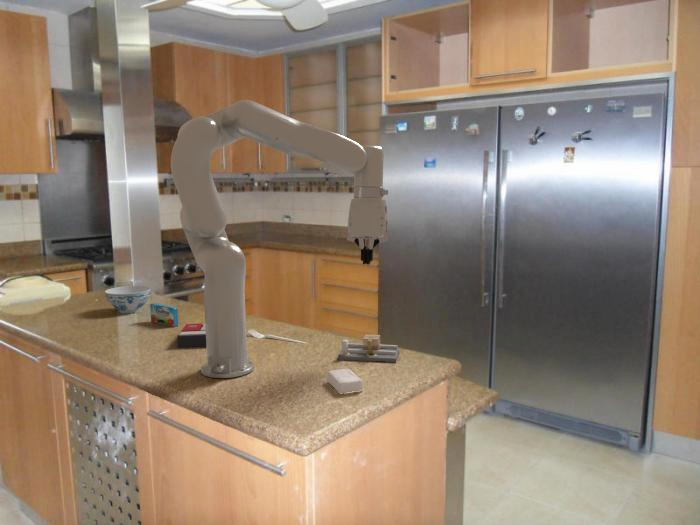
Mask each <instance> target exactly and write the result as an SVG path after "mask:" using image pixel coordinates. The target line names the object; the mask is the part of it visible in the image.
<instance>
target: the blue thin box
mask: <svg viewBox="0 0 700 525" xmlns="http://www.w3.org/2000/svg"><path fill="white" fill-rule="evenodd" d="M149 309H150V322H151V323H154V322H155V323H154V324H158V323H159V325H162V324H163V325H164V326H167V325H168V326H167V327H171V326H172V327H171V328H176V326H177V327H179V314H178V307H177V306H172V305H168V304H162V303H156V302H152V303H150V304H149ZM163 325H162V326H163Z"/></svg>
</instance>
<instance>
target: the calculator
mask: <svg viewBox="0 0 700 525" xmlns="http://www.w3.org/2000/svg"><path fill="white" fill-rule="evenodd" d="M176 339H177V340H176V341H177V349H184V348H185V349H186V348H187V349H188V348H190V347H191V348H206V327H205V322H204V323H201V322H199V323H186V324H185V325H184V327H183V328H182V329H181V331H179V333H178V334H177V336H176Z"/></svg>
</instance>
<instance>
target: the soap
mask: <svg viewBox="0 0 700 525" xmlns="http://www.w3.org/2000/svg"><path fill="white" fill-rule="evenodd" d="M327 382H329V383H330V384H331V385H332V386H333V387H334V388H335V389H336V390H337V391H338V392H339V393H346V392H352V391H359V390H362V389H363V387H364V386H363V384H364V383H363V379H361V378H360V377H359V376H358V375H356V374H355V373H354V372H353V371H352V370H351V369H350V368H341V369H334V370H329V371H327ZM329 383H328V384H329ZM330 384H329V385H330ZM331 385H330V386H331ZM332 386H331V387H332ZM333 387H332V388H333ZM334 388H333V389H334ZM335 389H334V390H335ZM336 390H335V391H336ZM337 391H336V392H337ZM362 391H363V390H362ZM338 392H337V393H338ZM339 393H338V394H339Z"/></svg>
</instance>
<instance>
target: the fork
mask: <svg viewBox="0 0 700 525" xmlns="http://www.w3.org/2000/svg"><path fill="white" fill-rule="evenodd" d="M247 332H248V333H249V334H250V335H251V336H252V337H253V338H254V339H255V338H256V339H266V338H269V339H273V340H278V341H279V340H280V341H283V342H284V341H285V342H292V343H299V344H307V342H304V341H300V340H296V339H291V338H286V337H282V336H276V335H273V334H266V335H264V334H262V333H259V332H257V331H256V330H255V329H253V328H251V329H248V330H247Z"/></svg>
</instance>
